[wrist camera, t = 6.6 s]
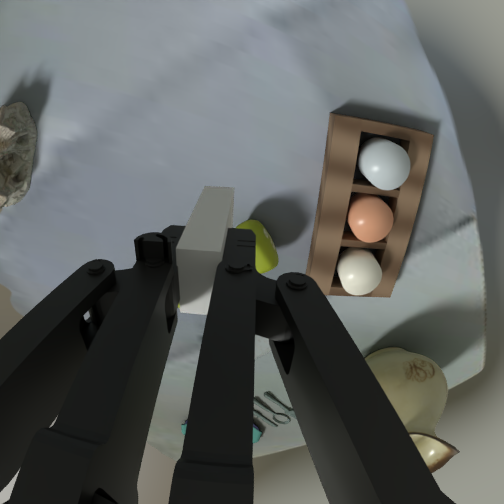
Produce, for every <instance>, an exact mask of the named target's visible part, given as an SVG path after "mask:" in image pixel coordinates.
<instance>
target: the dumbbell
mask: <svg viewBox="0 0 504 504" xmlns="http://www.w3.org/2000/svg"><path fill="white" fill-rule="evenodd" d="M236 228H239V229H251V230H252V231H253V232H254V233H255V234H256V263H255V266H256V269H257V271H258V272H259V273H260V274H261V273H265V272H267V271H269V270H271V269H273V268H275V267H276V266H277V265H278V255H277V251H276V248H275V245H274V243H273V240H272V238H271V236H270V235H269V233H268V232H267V230H266V229H265V227H264V226H263V225H262V224H261V223H260V222H259V221H257V220H247V221H245V222H243V223H241V224H239V225H238V226H237V227H236ZM178 308H180V305H178Z"/></svg>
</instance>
